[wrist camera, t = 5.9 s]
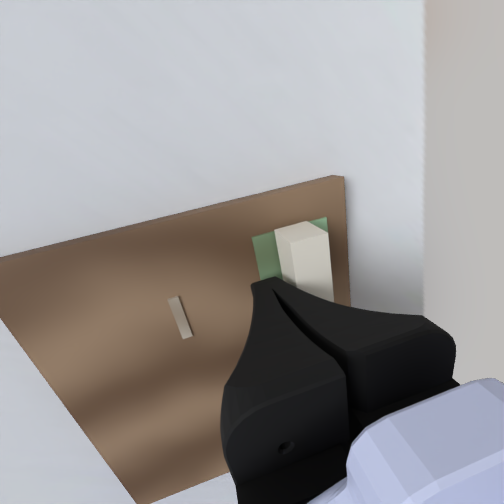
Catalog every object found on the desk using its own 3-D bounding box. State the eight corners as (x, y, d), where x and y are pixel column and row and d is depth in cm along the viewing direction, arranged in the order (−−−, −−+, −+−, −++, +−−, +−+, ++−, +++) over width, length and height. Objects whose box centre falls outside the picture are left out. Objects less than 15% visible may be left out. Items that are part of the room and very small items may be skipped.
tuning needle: (340, 411, 17) (369, 459, 15) (297, 428, 17) (318, 480, 14) (322, 216, 12) (362, 234, 9) (257, 234, 11) (279, 258, 9)
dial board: (348, 408, 20) (357, 422, 19) (142, 489, 18) (139, 509, 17) (332, 175, 13) (345, 176, 12) (-16, 261, 11) (-37, 272, 10)
